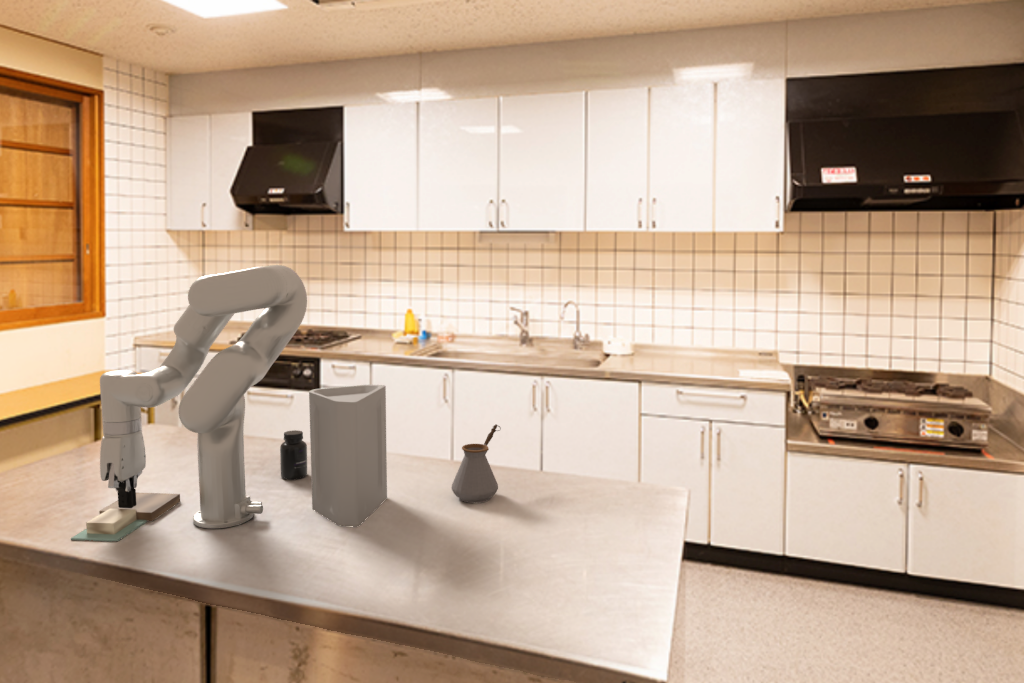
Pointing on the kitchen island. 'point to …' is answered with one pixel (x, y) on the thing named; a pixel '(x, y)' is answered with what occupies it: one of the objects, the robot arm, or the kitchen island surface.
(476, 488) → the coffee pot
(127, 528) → the rubber mat
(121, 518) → the birch tile
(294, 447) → the supplement bottle
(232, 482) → the robot arm
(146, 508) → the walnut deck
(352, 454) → the grey triangular vase
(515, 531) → the kitchen island surface
